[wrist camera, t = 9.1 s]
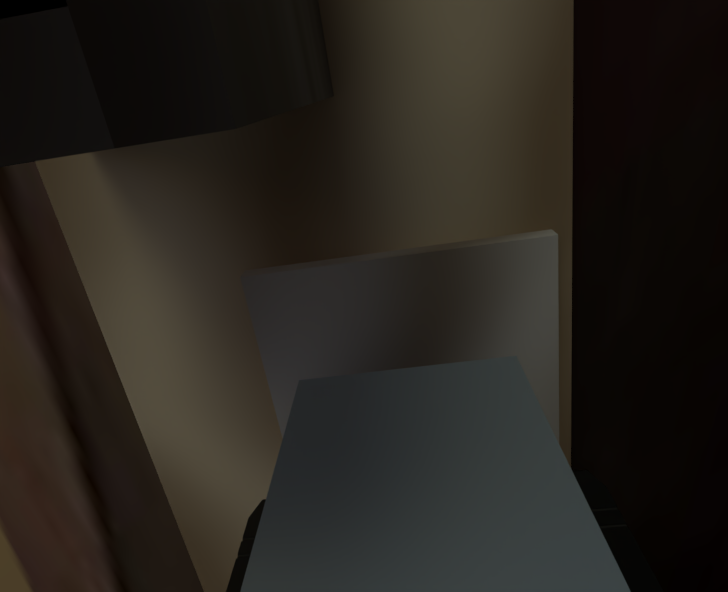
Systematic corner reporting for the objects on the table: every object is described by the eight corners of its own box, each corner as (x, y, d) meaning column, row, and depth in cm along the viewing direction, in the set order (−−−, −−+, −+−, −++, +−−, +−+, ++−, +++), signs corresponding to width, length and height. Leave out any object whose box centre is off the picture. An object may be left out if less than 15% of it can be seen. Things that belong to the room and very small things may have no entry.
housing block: (515, 355, 11) (640, 611, 6) (523, 548, 14) (619, 863, 8) (298, 380, 12) (226, 640, 6) (341, 562, 14) (315, 870, 9)
